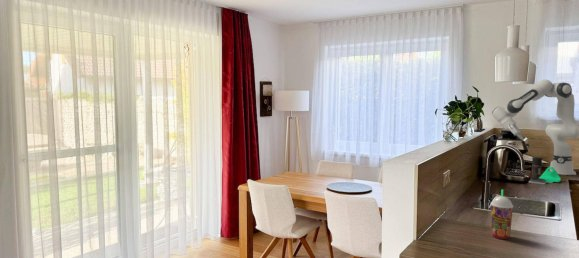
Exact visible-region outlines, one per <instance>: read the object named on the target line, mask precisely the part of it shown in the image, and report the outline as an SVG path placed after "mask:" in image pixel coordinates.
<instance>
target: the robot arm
mask: <svg viewBox="0 0 579 258" xmlns="http://www.w3.org/2000/svg"><path fill="white" fill-rule="evenodd" d="M572 89H573V87H572V86H571V84H570V83H567V82H555V83H554V82H552V81H551V80H549V79H542V80H540V81H538V82H536V83H535V84H533V85H532V86H530V87H529V88H528V89H527V91H526V93H524V94H523V95H521V96H520V97H518V98H515V99H511V100H510V101H509V102H508V104H507V105H503V106H501V105H500V106H499V105H498V106H496V107H495V108H494V109H493V110H492V111H491V114H492V117H494V119H495V120H496V121H497V122H498V123H500V125H501V126H502V128H504V130H506V131H510V132H511V133H512V134H513V135H514V136H517V137H518V138H519V139H520V140H524V139H525V137H524V136H523V134H522V131H521V130H520V128H519V127H518V126H517V125H516V124H517V122H516V121H515V120H514V119H513V118H514V117H515V116H517V115H518V114H519V113H520V112H521V111H523V108H524V106H525V105H526V104H528V103H529V102H530V101H533V102H534V101H538V100H540V99H542V98H543V97H547V98H556V99H557V104H556V117H557V118H558V119H560V120H561V121H562V123H551V124H548V125H547V126H546V128H545V134H546V135H547V136H548V137H549V138H550V140H551V141H552V144H553V156H552V161H550V166H549V167H553V168H554V169H555V171H556V172H557V174H558V175H564V176H565V175H566V176H567V175H568V176H576V175H577V173H576V171H575V168H574V163H573V162H572V159H573V158H572V157H573V156H572V146H571V144H569V143H567V141H566V139H571V140H573V139H579V124H578V123H577V121H576V119H575V95H574V94H573V90H572ZM549 171H552V169H549Z"/></svg>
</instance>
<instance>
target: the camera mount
mask: <svg viewBox="0 0 579 258" xmlns="http://www.w3.org/2000/svg"><path fill="white" fill-rule="evenodd" d="M550 169H552V171H549V170H550ZM539 178H540V179H545V180H546V181H548V183H554V182H555V183H560V182H561V179H562V178H561V177H560V174H557V172H556V171H555V169H554V168H553V167H550V166H549V167H547V168H546V169H545V171H544V172H543V173H541V176H540V177H539Z"/></svg>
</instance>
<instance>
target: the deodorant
mask: <svg viewBox="0 0 579 258" xmlns="http://www.w3.org/2000/svg"><path fill="white" fill-rule="evenodd" d="M542 161H543V157H540V156H539V157H538V156H535V157H534V156H533V157H532V161H531V162H532V163H531V164H532V165H531V166H532V167H531V178H539V177H540V176H541V175H542V167H543V166H542V165H543V162H542Z"/></svg>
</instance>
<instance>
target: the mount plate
mask: <svg viewBox="0 0 579 258" xmlns="http://www.w3.org/2000/svg"><path fill="white" fill-rule="evenodd" d="M528 183H530V184H538V185H546V184H547V183H549V182H548V181H546V180H545V179H540V178H532V177H531V178H530V180H529V181H528Z"/></svg>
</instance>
